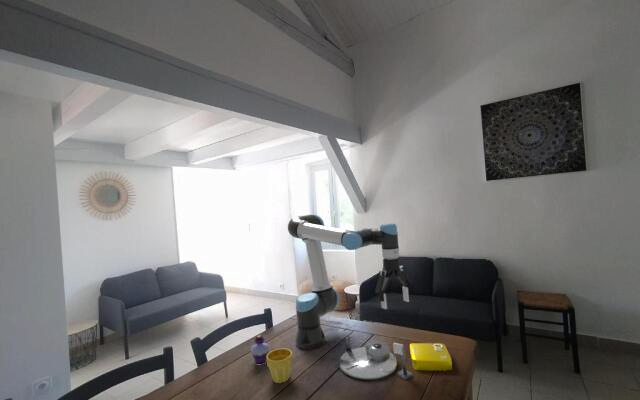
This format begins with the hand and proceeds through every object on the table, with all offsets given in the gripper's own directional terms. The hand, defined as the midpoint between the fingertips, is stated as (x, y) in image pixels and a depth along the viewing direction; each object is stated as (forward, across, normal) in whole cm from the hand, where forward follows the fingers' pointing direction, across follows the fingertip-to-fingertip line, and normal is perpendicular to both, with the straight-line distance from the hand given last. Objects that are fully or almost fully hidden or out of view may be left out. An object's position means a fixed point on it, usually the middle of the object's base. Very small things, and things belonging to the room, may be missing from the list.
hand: (395, 304), depth 133 cm
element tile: (+22, +4, -13) cm, 26 cm away
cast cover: (+19, -12, +1) cm, 23 cm away
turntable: (+21, -18, +2) cm, 27 cm away
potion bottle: (+21, -54, +32) cm, 66 cm away
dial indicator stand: (+21, -12, -14) cm, 28 cm away
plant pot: (+21, -52, +15) cm, 58 cm away
